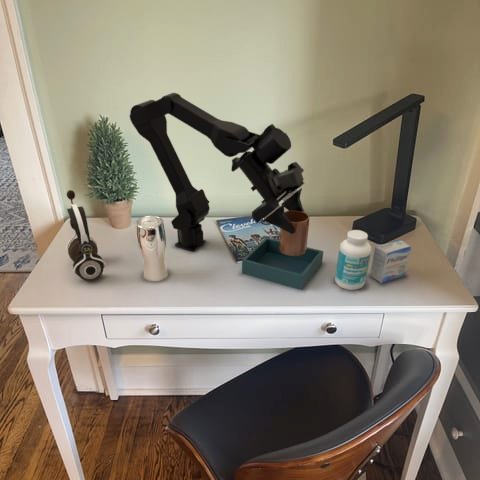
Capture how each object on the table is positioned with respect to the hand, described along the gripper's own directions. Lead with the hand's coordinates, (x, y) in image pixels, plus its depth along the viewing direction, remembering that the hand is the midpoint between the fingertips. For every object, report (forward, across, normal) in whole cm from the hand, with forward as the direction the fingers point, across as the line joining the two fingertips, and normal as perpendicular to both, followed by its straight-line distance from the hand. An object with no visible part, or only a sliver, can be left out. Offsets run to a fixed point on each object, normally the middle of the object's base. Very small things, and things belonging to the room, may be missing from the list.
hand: (299, 227), depth 120 cm
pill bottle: (+19, +2, -1) cm, 19 cm away
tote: (+6, 0, +12) cm, 13 cm away
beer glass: (-13, -18, +32) cm, 38 cm away
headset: (-24, -24, +43) cm, 55 cm away
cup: (+4, 0, +6) cm, 7 cm away
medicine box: (+24, +9, -6) cm, 27 cm away
